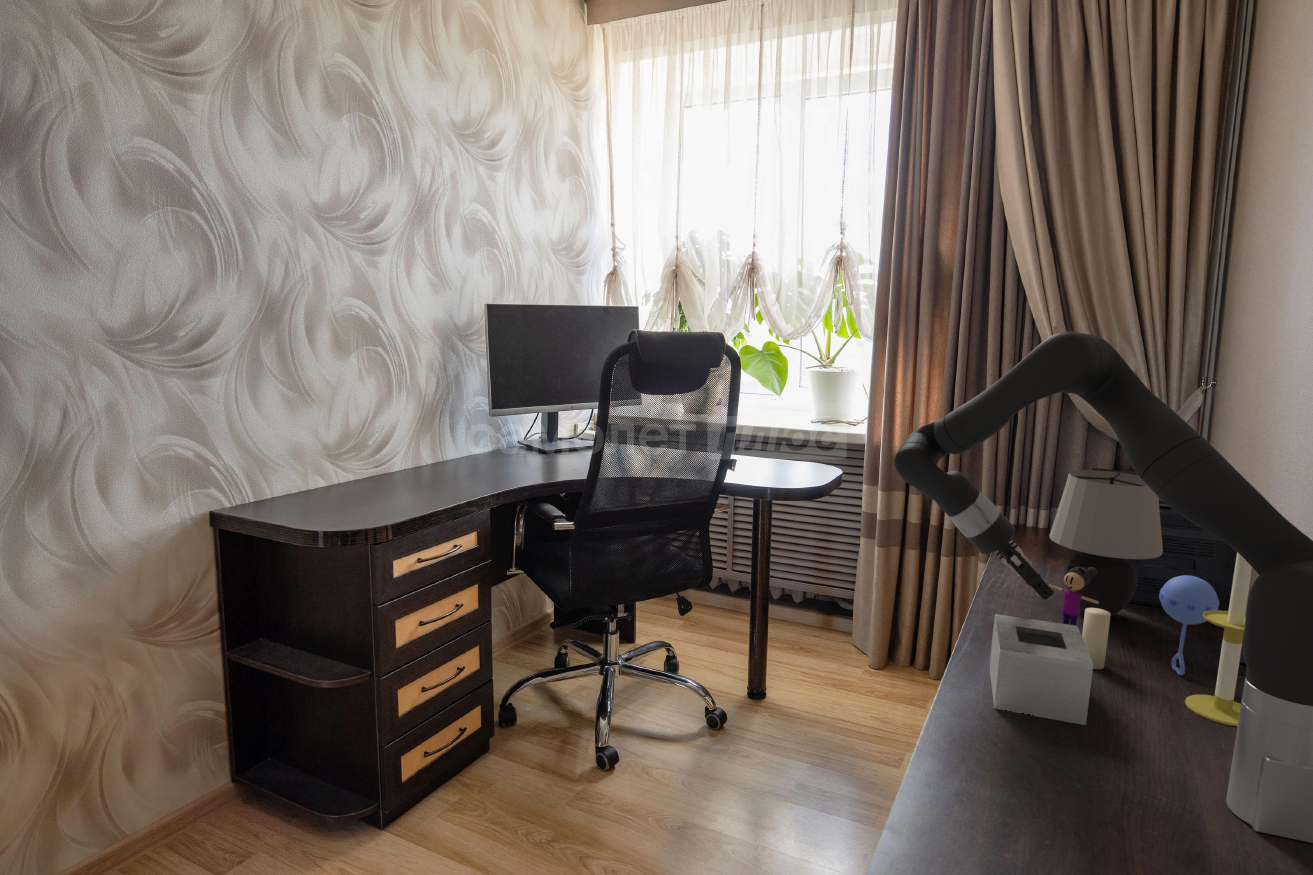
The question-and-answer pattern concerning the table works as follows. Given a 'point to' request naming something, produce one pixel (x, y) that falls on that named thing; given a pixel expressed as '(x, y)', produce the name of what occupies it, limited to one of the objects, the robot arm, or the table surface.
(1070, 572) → the toy
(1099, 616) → the capsule
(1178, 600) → the baby rattle
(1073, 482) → the table lamp
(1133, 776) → the table surface
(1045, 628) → the white hollow block
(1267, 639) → the robot arm
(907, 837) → the table surface
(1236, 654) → the candle
